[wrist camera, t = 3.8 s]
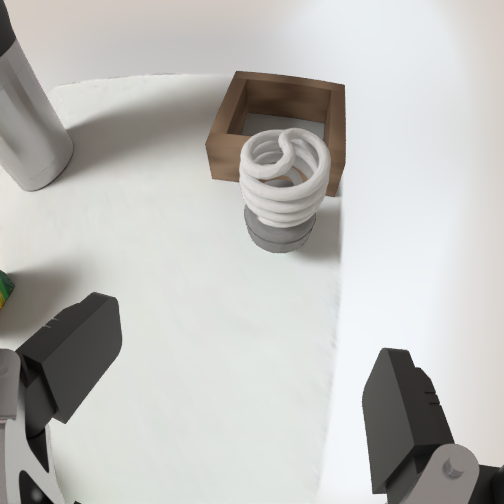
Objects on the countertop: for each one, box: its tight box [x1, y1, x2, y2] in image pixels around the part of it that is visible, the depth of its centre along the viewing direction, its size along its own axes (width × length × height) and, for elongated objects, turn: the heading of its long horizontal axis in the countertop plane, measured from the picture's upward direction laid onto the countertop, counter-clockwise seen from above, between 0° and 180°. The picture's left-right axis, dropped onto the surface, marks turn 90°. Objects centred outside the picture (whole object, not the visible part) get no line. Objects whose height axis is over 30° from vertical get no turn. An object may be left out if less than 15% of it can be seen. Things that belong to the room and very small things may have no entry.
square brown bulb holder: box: [205, 71, 346, 197], centre depth 30 cm, size 12×12×5 cm
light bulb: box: [239, 128, 331, 253], centre depth 22 cm, size 6×6×12 cm
